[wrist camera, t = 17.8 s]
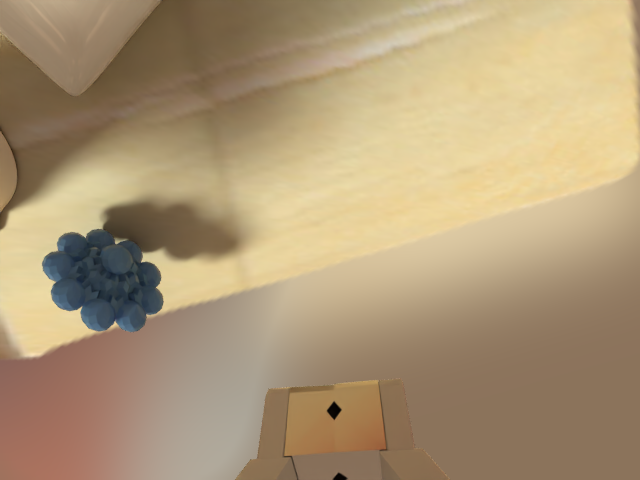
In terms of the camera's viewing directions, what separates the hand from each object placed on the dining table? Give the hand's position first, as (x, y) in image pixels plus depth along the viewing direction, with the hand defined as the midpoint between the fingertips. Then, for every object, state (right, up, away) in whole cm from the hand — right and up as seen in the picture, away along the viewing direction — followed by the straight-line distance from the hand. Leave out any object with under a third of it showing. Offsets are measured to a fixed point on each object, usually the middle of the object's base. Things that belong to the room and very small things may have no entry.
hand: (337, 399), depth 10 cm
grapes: (-21, +4, +37) cm, 43 cm away
